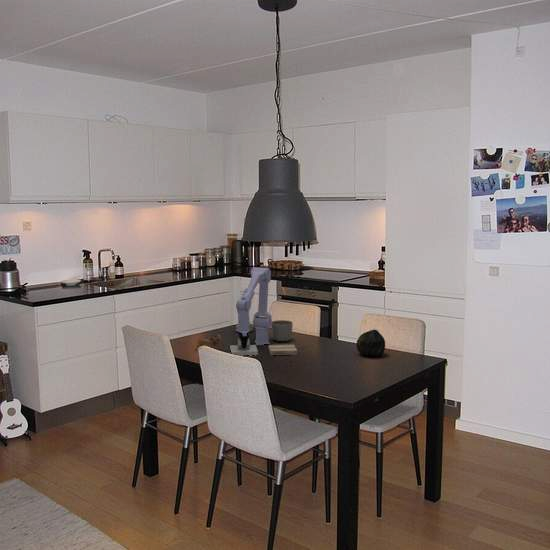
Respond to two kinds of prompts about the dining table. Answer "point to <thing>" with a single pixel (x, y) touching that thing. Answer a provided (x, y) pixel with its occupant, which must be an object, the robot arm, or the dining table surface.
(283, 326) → the planter
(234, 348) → the stand
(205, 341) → the fried chicken drumstick
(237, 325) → the air freshener
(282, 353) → the stand
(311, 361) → the dining table surface
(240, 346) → the block
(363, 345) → the squash
